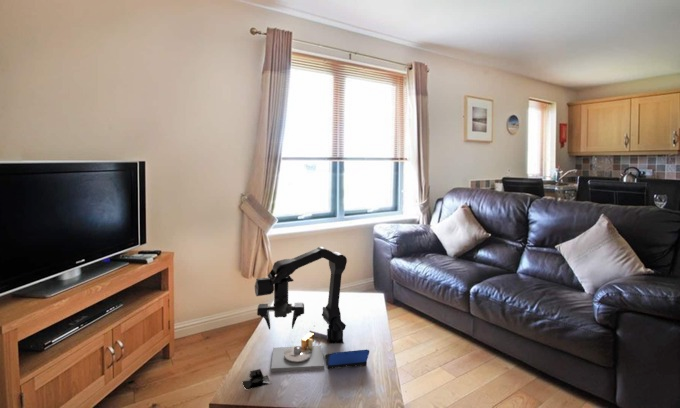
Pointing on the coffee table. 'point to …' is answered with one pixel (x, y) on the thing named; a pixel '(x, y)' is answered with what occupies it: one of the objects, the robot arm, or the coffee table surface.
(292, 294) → the coffee table surface
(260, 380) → the black angular piece
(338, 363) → the handheld game console
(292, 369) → the base plate
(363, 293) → the coffee table surface
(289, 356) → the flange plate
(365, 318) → the coffee table surface
